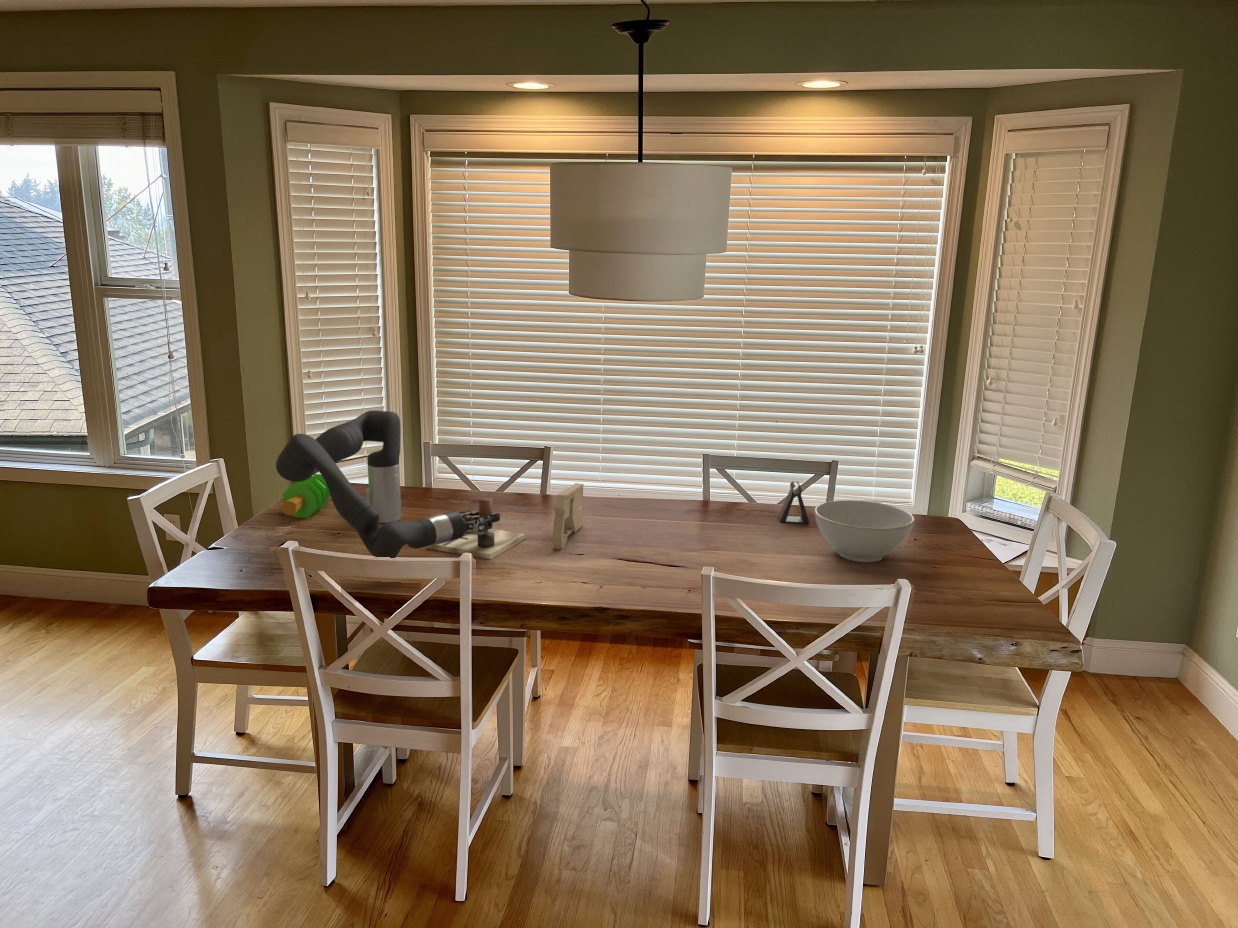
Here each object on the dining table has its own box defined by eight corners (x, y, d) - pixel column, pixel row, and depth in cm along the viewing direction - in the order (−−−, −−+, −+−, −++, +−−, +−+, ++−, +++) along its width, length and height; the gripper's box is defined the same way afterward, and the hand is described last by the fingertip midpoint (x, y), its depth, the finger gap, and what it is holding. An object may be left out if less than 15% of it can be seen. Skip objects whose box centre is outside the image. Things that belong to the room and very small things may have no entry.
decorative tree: (277, 484, 264) (320, 456, 292) (266, 517, 267) (310, 487, 296) (313, 499, 264) (352, 471, 292) (302, 532, 267) (342, 501, 296)
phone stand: (807, 518, 284) (809, 481, 281) (809, 523, 278) (811, 486, 275) (778, 516, 285) (780, 480, 282) (779, 522, 279) (782, 485, 276)
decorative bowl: (825, 534, 268) (828, 495, 266) (918, 549, 257) (922, 508, 254) (799, 560, 245) (802, 518, 242) (900, 578, 233) (904, 534, 231)
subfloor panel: (427, 548, 248) (427, 542, 248) (465, 529, 265) (465, 524, 265) (490, 559, 241) (490, 553, 240) (524, 539, 258) (524, 533, 257)
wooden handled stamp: (474, 546, 246) (473, 500, 243) (483, 541, 250) (482, 496, 247) (488, 548, 245) (488, 502, 242) (497, 543, 249) (497, 498, 246)
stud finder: (458, 530, 259) (458, 523, 258) (467, 525, 263) (467, 518, 263) (479, 533, 256) (479, 526, 256) (488, 529, 261) (488, 522, 260)
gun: (562, 550, 248) (563, 497, 246) (550, 549, 249) (552, 496, 247) (583, 531, 272) (584, 483, 270) (572, 531, 273) (574, 482, 270)
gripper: (427, 535, 241) (477, 522, 253) (459, 548, 232) (510, 533, 244) (426, 508, 239) (477, 496, 251) (459, 520, 230) (510, 507, 242)
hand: (493, 515), depth 248 cm, fingers open, 4 cm apart
